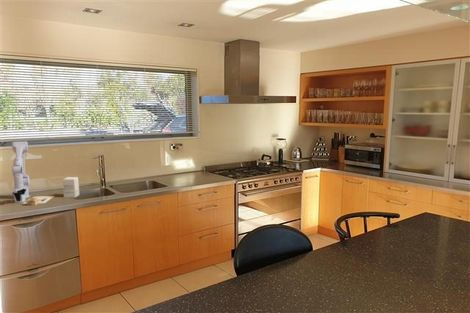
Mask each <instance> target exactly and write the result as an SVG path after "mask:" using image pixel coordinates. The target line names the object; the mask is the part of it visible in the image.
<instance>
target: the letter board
mask: <svg viewBox="0 0 470 313" xmlns="http://www.w3.org/2000/svg"><path fill="white" fill-rule="evenodd" d="M54 197H55V195H47V196H45V195H43V196H40V195H39V196H33V197H32V198H38V201H39V203H38V204H46V203H47V202H48V201H50V200H51V199H53V198H54ZM22 205H27V204H26V201H24V202H23V203H22Z"/></svg>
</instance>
